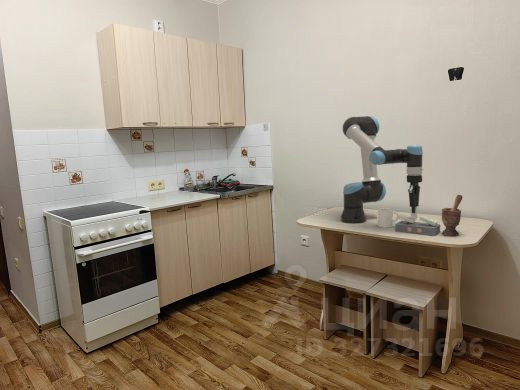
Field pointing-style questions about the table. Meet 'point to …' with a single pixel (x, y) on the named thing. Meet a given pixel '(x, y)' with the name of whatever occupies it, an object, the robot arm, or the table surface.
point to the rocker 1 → (406, 218)
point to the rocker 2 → (428, 220)
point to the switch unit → (417, 228)
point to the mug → (386, 217)
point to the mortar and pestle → (452, 218)
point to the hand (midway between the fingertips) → (414, 218)
